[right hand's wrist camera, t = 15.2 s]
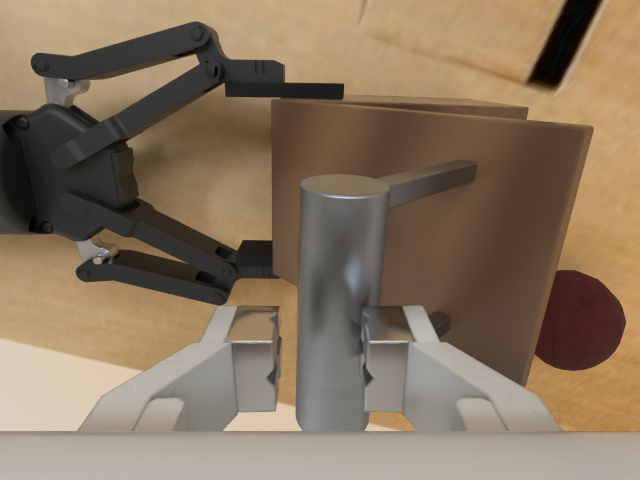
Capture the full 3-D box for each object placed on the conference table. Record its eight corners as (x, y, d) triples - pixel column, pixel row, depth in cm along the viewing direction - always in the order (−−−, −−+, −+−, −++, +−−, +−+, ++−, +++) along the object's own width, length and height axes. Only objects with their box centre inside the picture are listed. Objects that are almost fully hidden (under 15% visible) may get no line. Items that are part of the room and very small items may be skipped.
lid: (595, 125, 12) (461, 153, 6) (526, 386, 16) (398, 553, 10) (285, 98, 21) (112, 100, 15) (284, 269, 24) (143, 322, 19)
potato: (505, 341, 38) (545, 396, 31) (501, 264, 35) (544, 307, 28) (588, 327, 37) (647, 380, 31) (591, 248, 34) (656, 288, 28)
